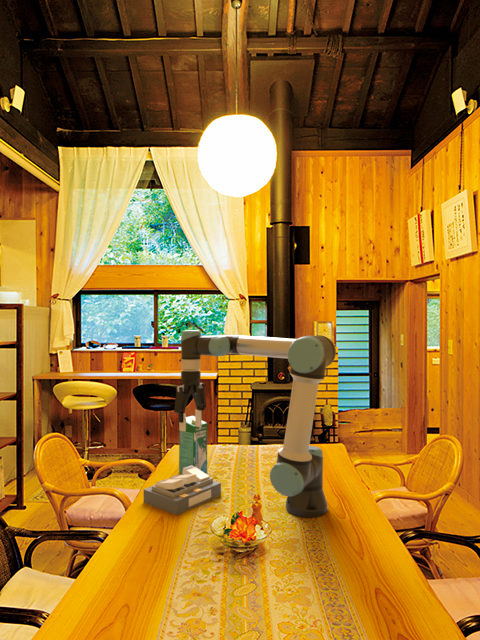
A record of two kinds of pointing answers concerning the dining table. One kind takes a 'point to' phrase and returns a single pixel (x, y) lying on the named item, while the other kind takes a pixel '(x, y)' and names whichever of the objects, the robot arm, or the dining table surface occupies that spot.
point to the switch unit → (182, 496)
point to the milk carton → (193, 446)
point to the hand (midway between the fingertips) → (190, 428)
